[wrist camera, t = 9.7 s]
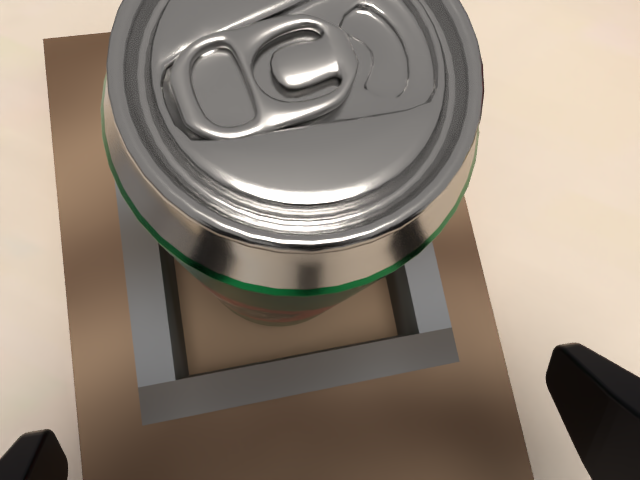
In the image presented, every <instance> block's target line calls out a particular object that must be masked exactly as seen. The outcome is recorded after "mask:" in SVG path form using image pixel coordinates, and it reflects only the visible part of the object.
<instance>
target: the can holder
mask: <svg viewBox="0 0 640 480" xmlns="http://www.w3.org/2000/svg"><path fill="white" fill-rule="evenodd" d="M110 34H111V32H108V33H98V34H88V35H78V36H68V37H58V38H48V39H43V43H44V54H45V65H46V76H47V87H48V98H49V109H50V120H51V131H52V142H53V153H54V164H55V175H56V186H57V198H58V209H59V220H60V231H61V242H62V253H63V264H64V275H65V286H66V297H67V308H68V319H69V330H70V341H71V352H72V363H73V374H74V385H75V396H76V407H77V418H78V429H79V440H80V451H81V463H82V474H83V480H534V477H533V473H532V469H531V465H530V461H529V457H528V453H527V449H526V445H525V441H524V437H523V432H522V428H521V424H520V420H519V416H518V412H517V408H516V404H515V400H514V396H513V392H512V388H511V384H510V380H509V376H508V371H507V367H506V363H505V359H504V355H503V351H502V347H501V343H500V339H499V335H498V331H497V327H496V323H495V319H494V314H493V310H492V306H491V302H490V298H489V294H488V290H487V286H486V282H485V278H484V274H483V270H482V266H481V262H480V258H479V253H478V249H477V245H476V241H475V237H474V233H473V229H472V225H471V221H470V217H469V213H468V209H467V205H466V201H465V197H464V196H463V198H462V200H461V202H460V204H459V206H458V208H457V210H456V212H455V213H454V214H453V216H452V217H451V219H450V220H449V221H448V223H447V224H446V226H445V227H444V228H443V230H442V231H441V232H440V234H439V235H438V236H437V237H436V238H435V239H434V240H433V241H432V242H431V243H430V244H429V245H428V246H427V247H426V248H425V249H424V250H423V251H422V252H421V253H420V254H419V255H417V256H416V257H414V258H413V259H411V260H410V261H409V262H407V263H406V264H404V265H403V266H401V267H400V268H399V269H397V270H396V271H394V272H392V273H391V274H389V275H387V276H386V277H384V278H382V279H380V280H379V281H377V282H375V283H374V284H372V285H370V286H368V287H367V288H365V289H363V290H362V291H360V292H358V293H356V294H355V295H353V296H351V297H349V298H348V299H346V300H344V301H343V302H341V303H339V304H337V305H336V306H334V307H332V308H331V309H329V310H327V311H325V312H324V313H322V314H320V315H319V316H317V317H315V318H313V319H310V320H308V321H306V322H303V323H300V324H296V325H291V326H284V327H276V326H265V325H260V324H256V323H253V322H251V321H248V320H245V319H244V318H242V317H240V316H238V315H236V314H235V313H233V312H232V311H231V310H230V309H228V308H227V307H226V306H225V305H224V304H222V303H221V302H220V301H219V300H218V299H217V298H216V297H215V296H214V295H213V294H212V293H211V292H210V291H209V290H208V289H207V288H206V287H204V286H203V285H202V284H201V283H200V282H199V281H198V280H197V279H196V278H195V277H194V276H193V275H192V274H191V273H190V272H189V271H187V270H186V269H185V268H184V267H183V266H182V265H181V264H180V263H179V262H178V261H177V260H176V259H175V258H174V257H173V256H172V255H170V254H169V253H168V252H167V251H166V250H165V249H164V248H163V247H162V246H161V245H160V244H159V243H158V242H157V241H156V240H155V239H154V238H153V237H152V236H151V234H150V233H149V232H148V231H147V230H146V229H145V228H144V227H143V226H142V225H141V224H140V222H139V221H138V220H137V219H136V217H135V215H134V214H133V212H132V211H131V209H130V208H129V206H128V205H127V203H126V202H125V200H124V199H123V197H122V195H121V193H120V191H119V189H118V187H117V184H116V182H115V180H114V177H113V175H112V173H111V170H110V168H109V165H108V160H107V156H106V152H105V148H104V144H103V139H102V126H101V101H102V92H103V84H104V79H105V75H106V72H107V71H106V63H107V54H108V46H109V38H110Z"/></svg>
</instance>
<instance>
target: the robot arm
mask: <svg viewBox="0 0 640 480" xmlns="http://www.w3.org/2000/svg"><path fill="white" fill-rule="evenodd" d="M546 384H547V387H548V390H549V392H550V394H551V396H552V398H553V400H554V403H555V405H556V407H557V409H558V411H559V413H560V416H561V418H562V420H563V422H564V424H565V427H566V429H567V431H568V433H569V435H570V437H571V440H572V442H573V444H574V446H575V448H576V450H577V452H578V454H579V456H580V458H581V460H582V462H583V464H584V466H585V468H586V470H587V471H588V473H589V475H590V477H591V478H592V480H640V377H638V376H636V375H634V374H633V373H631V372H629V371H627V370H626V369H624V368H622V367H620V366H619V365H617V364H615V363H613V362H612V361H610V360H608V359H606V358H605V357H603V356H601V355H599V354H598V353H596V352H594V351H592V350H591V349H589V348H587V347H585V346H583V345H581V344H579V343H568V344H562V345H558V346H556V347H555V348H554V350H553V352H552V356H551V359H550V362H549V366H548V369H547V372H546ZM67 477H68V462H67V458H66V456H65V454H64V452H63V450H62V448H61V446H60V444H59V442H58V440H57V438H56V436H55V434H54V433H53V431H51V430H49V429H44V430H38V431H32V432H27V433H25V434H23V435H22V436H20V437H19V438H18V439H17V441H16V442H15V443H14V444H13V445H12V446H11V447H10V448H9V450H8V451H7V452H6V453H5V454H4V455H3V456H2V458H1V459H0V480H67Z"/></svg>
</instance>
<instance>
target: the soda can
mask: <svg viewBox="0 0 640 480" xmlns="http://www.w3.org/2000/svg"><path fill="white" fill-rule="evenodd" d="M106 71H107V72H106V75H105V79H104V84H103V92H102V101H101V126H102V139H103V144H104V148H105V152H106V156H107V160H108V165H109V168H110V170H111V173H112V175H113V177H114V180H115V182H116V184H117V187H118V189H119V191H120V193H121V195H122V197H123V199H124V200H125V202H126V203H127V205H128V206H129V208H130V209H131V211H132V212H133V214H134V215H135V217H136V219H137V220H138V221H139V222H140V224H141V225H142V226H143V227H144V228H145V229H146V230H147V231H148V232H149V233H150V234H151V236H152V237H153V238H154V239H155V240H156V241H157V242H158V243H159V244H160V245H161V246H162V247H163V248H164V249H165V250H166V251H167V252H168V253H169V254H170V255H172V256H173V257H174V258H175V259H176V260H177V261H178V262H179V263H180V264H181V265H182V266H183V267H184V268H185V269H186V270H187V271H189V272H190V273H191V274H192V275H193V276H194V277H195V278H196V279H197V280H198V281H199V282H200V283H201V284H202V285H203V286H204V287H206V288H207V289H208V290H209V291H210V292H211V293H212V294H213V295H214V296H215V297H216V298H217V299H218V300H219V301H220V302H221V303H222V304H224V305H225V306H226V307H227V308H228V309H230V310H231V311H232V312H233V313H235V314H236V315H238V316H240V317H242V318H244V319H245V320H248V321H251V322H253V323H256V324H260V325H265V326H276V327H284V326H291V325H296V324H300V323H303V322H306V321H308V320H310V319H313V318H315V317H317V316H319V315H320V314H322V313H324V312H325V311H327V310H329V309H331V308H332V307H334V306H336V305H337V304H339V303H341V302H343V301H344V300H346V299H348V298H349V297H351V296H353V295H355V294H356V293H358V292H360V291H362V290H363V289H365V288H367V287H368V286H370V285H372V284H374V283H375V282H377V281H379V280H380V279H382V278H384V277H386V276H387V275H389V274H391V273H392V272H394V271H396V270H397V269H399V268H400V267H401V266H403V265H404V264H406V263H407V262H409V261H410V260H411V259H413V258H414V257H416V256H417V255H419V254H420V253H421V252H422V251H423V250H424V249H425V248H426V247H427V246H428V245H429V244H430V243H431V242H432V241H433V240H434V239H435V238H436V237H437V236H438V235H439V234H440V232H441V231H442V230H443V228H444V227H445V226H446V224H447V223H448V221H449V220H450V219H451V217H452V216H453V214H454V213H455V212H456V210H457V208H458V206H459V204H460V202H461V200H462V198H463V196H464V194H465V192H466V190H467V187H468V185H469V182H470V178H471V175H472V171H473V168H474V165H475V161H476V155H477V146H478V138H479V123H480V120H481V114H482V105H483V97H484V78H483V64H482V59H481V54H480V50H479V45H478V40H477V38H476V35H475V32H474V30H473V27H472V25H471V22H470V19H469V17H468V15H467V13H466V11H465V9H464V8H463V6H462V4H461V2H460V1H459V0H123V1H122V3H121V5H120V7H119V9H118V11H117V14H116V17H115V21H114V24H113V27H112V30H111V34H110V38H109V46H108V54H107V63H106Z"/></svg>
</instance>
